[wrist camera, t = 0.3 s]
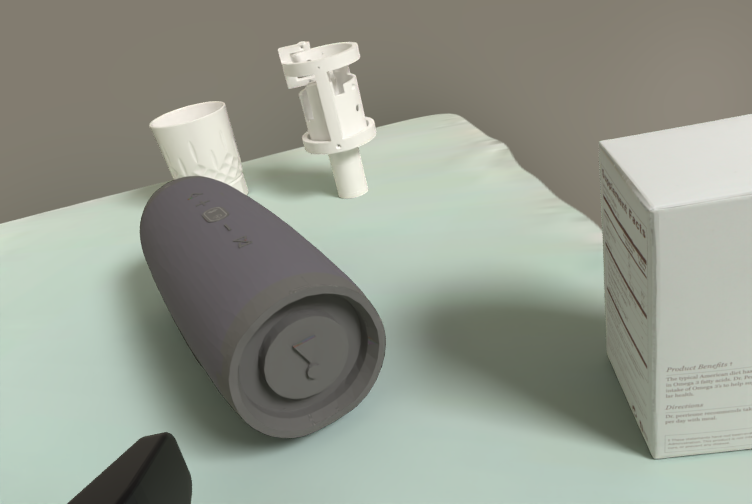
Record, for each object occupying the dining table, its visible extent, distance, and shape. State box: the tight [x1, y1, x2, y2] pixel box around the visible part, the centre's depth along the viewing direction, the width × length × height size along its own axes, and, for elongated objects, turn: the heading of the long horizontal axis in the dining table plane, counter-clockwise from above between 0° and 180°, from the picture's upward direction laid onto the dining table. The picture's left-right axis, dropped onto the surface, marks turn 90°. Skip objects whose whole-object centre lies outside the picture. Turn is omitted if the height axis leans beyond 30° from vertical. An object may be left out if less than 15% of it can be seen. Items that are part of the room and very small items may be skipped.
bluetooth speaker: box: [140, 176, 386, 438], centre depth 38 cm, size 23×9×10 cm, turn 30°
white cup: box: [149, 101, 249, 195], centre depth 64 cm, size 8×8×10 cm
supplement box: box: [599, 114, 752, 459], centre depth 26 cm, size 7×7×13 cm
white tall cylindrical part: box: [278, 41, 376, 199], centre depth 57 cm, size 7×7×15 cm
